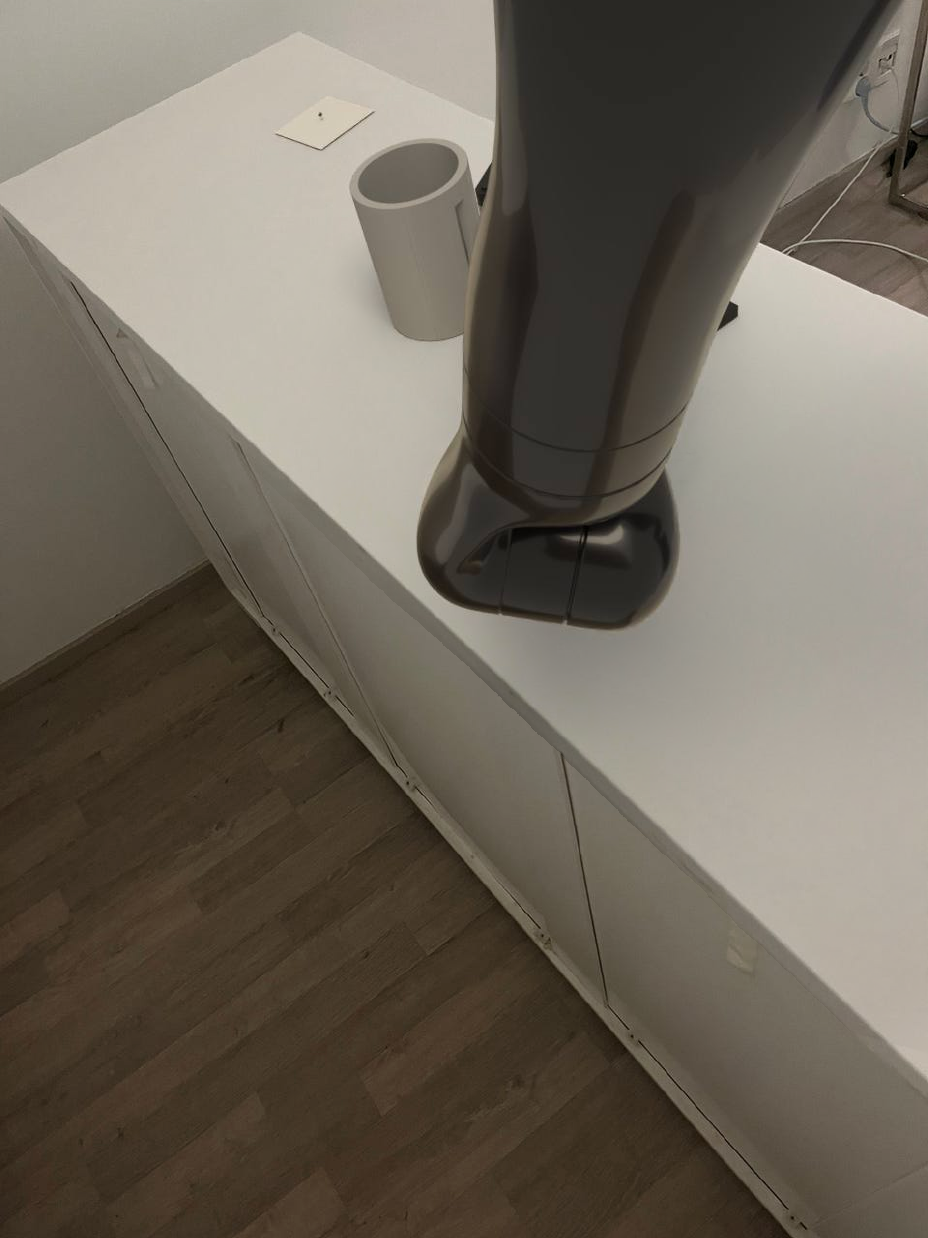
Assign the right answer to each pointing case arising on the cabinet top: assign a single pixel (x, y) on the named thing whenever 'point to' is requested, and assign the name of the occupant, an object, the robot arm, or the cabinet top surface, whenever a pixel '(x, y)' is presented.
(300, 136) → the coaster
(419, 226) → the cup
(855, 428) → the cabinet top surface
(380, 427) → the cabinet top surface
